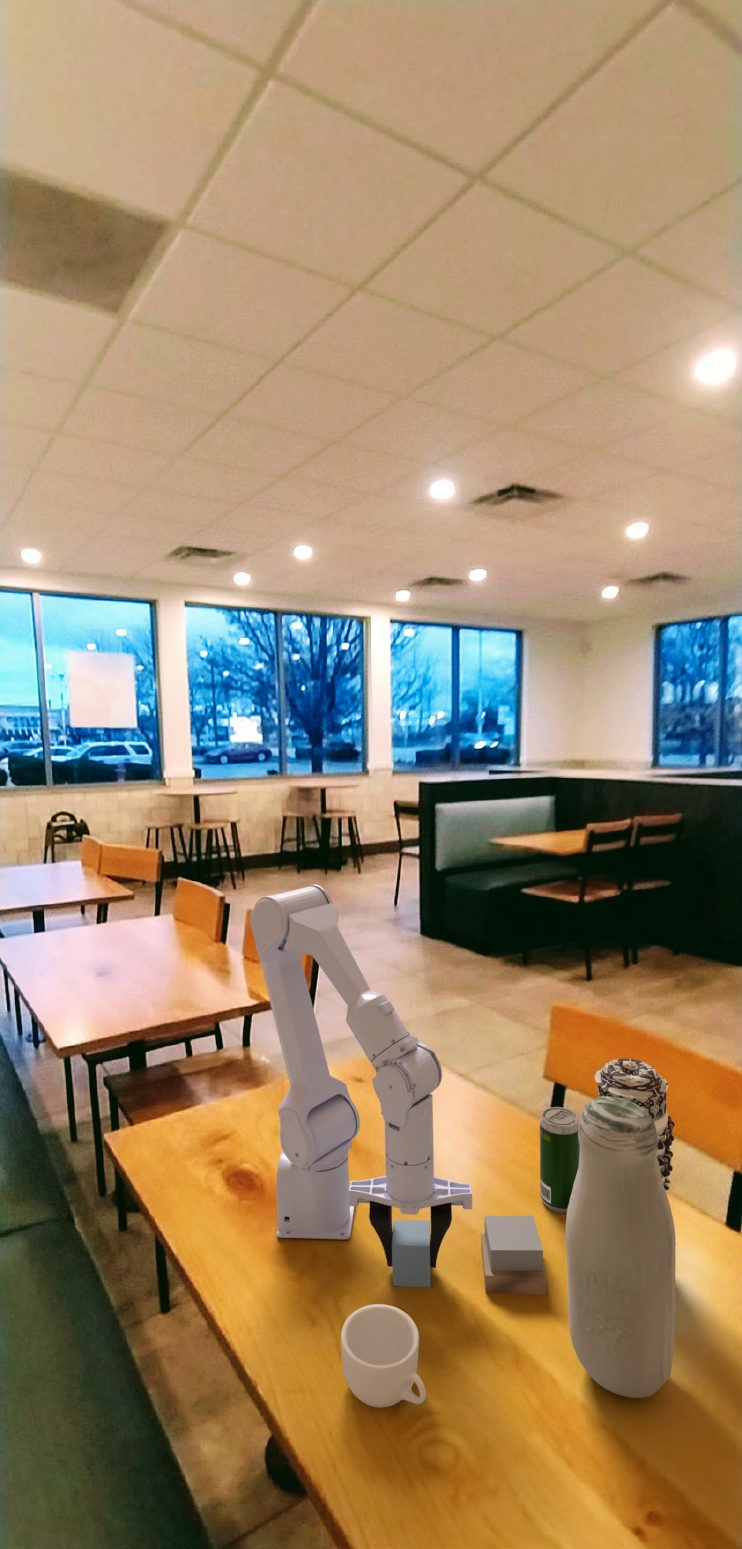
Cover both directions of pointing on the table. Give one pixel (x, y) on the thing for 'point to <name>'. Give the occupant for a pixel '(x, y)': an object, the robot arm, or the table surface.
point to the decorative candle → (642, 1101)
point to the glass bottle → (621, 1252)
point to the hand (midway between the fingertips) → (411, 1261)
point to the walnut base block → (512, 1278)
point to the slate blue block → (411, 1253)
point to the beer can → (558, 1156)
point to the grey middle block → (513, 1243)
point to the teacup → (381, 1356)
